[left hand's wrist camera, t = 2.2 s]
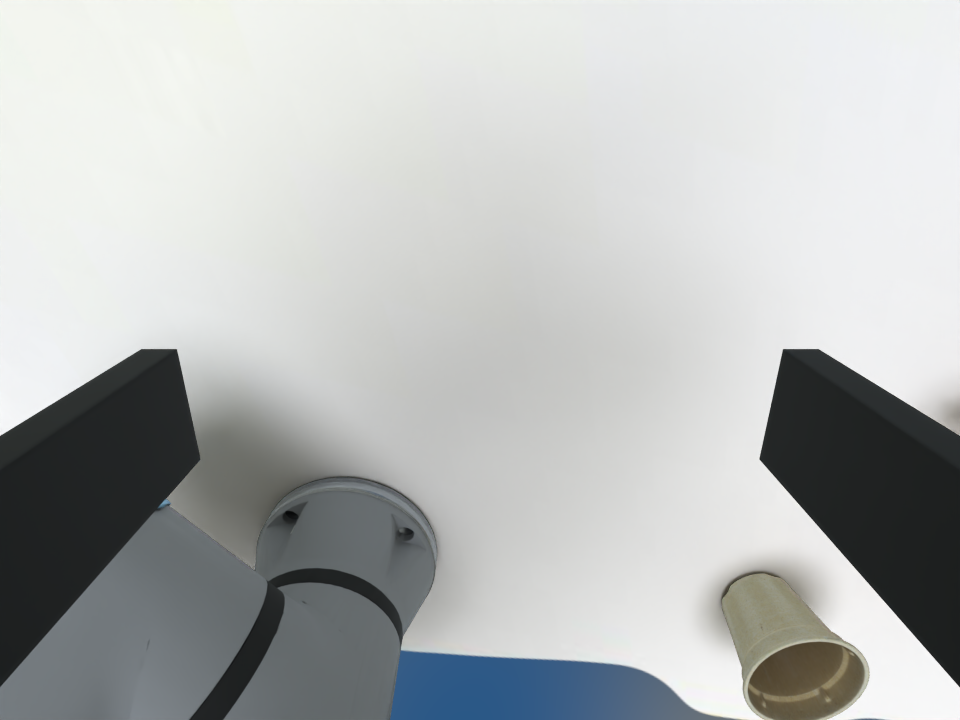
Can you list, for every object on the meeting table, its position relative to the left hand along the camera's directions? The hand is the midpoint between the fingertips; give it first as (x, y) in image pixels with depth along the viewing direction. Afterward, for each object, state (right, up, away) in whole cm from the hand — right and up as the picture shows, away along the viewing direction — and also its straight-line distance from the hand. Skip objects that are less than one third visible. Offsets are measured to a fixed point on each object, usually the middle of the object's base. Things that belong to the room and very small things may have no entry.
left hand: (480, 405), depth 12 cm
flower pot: (+25, -21, +38) cm, 50 cm away
